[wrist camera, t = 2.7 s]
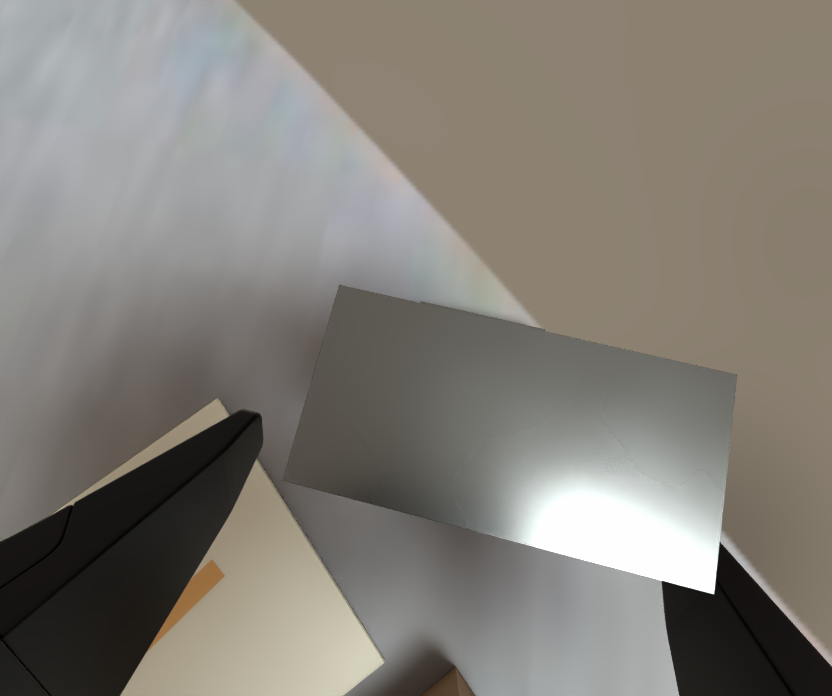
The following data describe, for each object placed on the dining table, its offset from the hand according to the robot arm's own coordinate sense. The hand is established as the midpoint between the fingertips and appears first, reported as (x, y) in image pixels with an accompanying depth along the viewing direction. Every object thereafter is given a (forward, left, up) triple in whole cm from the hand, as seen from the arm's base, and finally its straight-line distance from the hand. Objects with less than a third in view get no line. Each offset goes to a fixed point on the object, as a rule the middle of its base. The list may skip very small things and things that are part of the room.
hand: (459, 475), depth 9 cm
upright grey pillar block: (+2, -2, -9) cm, 9 cm away
